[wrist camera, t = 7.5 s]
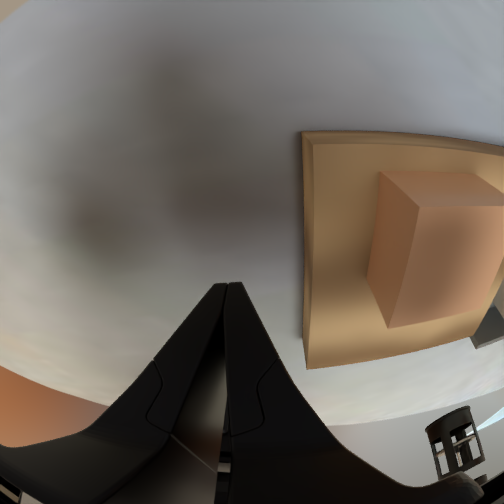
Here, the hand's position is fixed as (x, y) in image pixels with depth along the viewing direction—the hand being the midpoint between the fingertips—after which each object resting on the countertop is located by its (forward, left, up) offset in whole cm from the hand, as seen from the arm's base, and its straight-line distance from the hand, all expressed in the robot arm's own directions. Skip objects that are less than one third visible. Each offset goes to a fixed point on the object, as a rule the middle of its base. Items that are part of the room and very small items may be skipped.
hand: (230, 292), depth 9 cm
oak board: (-3, -10, -5) cm, 11 cm away
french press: (-42, -32, -6) cm, 53 cm away
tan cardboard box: (0, -8, -3) cm, 8 cm away
